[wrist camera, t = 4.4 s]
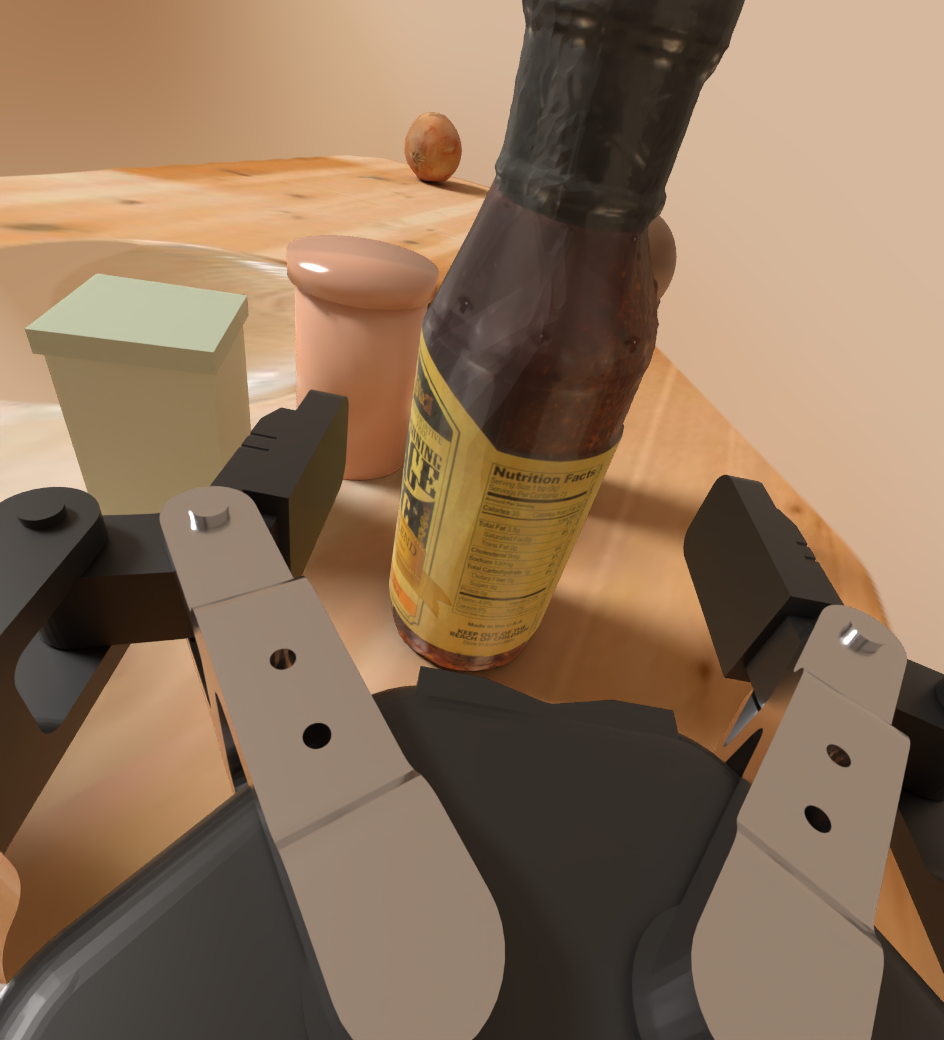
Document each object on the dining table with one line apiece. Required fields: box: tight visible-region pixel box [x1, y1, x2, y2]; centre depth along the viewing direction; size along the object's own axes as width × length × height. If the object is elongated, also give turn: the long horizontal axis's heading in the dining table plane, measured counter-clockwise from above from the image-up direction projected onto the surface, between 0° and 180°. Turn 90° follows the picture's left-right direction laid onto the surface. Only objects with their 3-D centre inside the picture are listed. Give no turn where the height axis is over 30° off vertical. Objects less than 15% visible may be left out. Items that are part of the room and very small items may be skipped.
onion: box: [405, 112, 462, 181], centre depth 95 cm, size 10×10×10 cm
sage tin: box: [25, 274, 251, 515], centre depth 22 cm, size 5×5×9 cm
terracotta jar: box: [287, 235, 439, 480], centre depth 28 cm, size 7×7×10 cm
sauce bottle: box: [389, 0, 745, 671], centre depth 17 cm, size 7×6×20 cm
